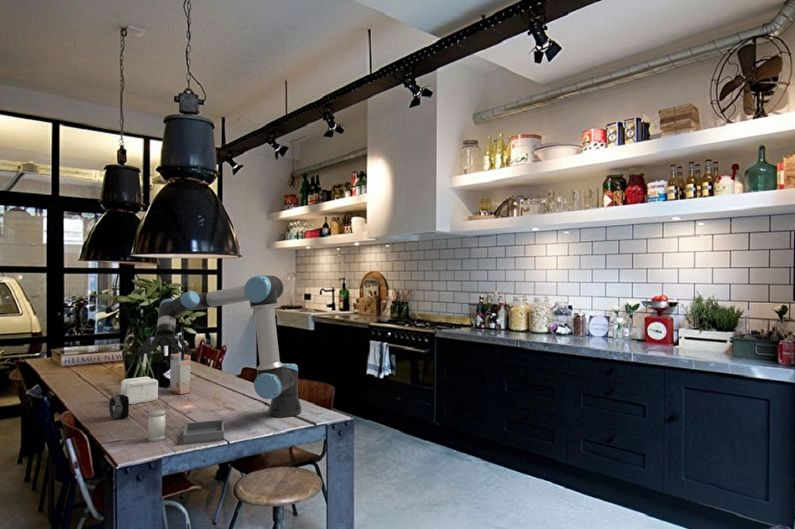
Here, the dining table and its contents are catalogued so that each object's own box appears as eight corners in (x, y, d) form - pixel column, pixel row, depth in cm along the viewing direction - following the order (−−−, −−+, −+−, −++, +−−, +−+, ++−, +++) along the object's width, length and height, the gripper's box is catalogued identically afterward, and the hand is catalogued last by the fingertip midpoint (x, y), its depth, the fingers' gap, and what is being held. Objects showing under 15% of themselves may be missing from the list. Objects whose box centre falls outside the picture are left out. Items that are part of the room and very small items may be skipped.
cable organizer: (151, 397, 262) (152, 375, 262) (158, 401, 254) (158, 378, 254) (120, 402, 252) (120, 379, 252) (126, 406, 244) (126, 382, 244)
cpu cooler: (108, 417, 225) (108, 394, 225) (122, 414, 229) (122, 392, 229) (115, 421, 217) (116, 398, 218) (129, 418, 222) (130, 396, 222)
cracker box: (190, 393, 271) (191, 355, 272) (179, 395, 267) (180, 356, 267) (180, 389, 281) (180, 352, 281) (169, 391, 277) (170, 353, 277)
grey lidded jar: (166, 436, 197) (166, 408, 197) (164, 440, 191) (164, 412, 192) (149, 437, 195) (149, 409, 195) (147, 442, 189) (147, 413, 190)
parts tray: (223, 428, 207) (223, 419, 207) (223, 440, 192) (223, 431, 192) (186, 431, 202) (186, 423, 203) (183, 444, 187) (183, 435, 187)
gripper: (196, 332, 229) (194, 370, 214) (136, 334, 220) (129, 374, 206) (195, 321, 224) (193, 360, 209) (134, 323, 216) (127, 363, 201)
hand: (161, 367), depth 208 cm, fingers open, 13 cm apart
